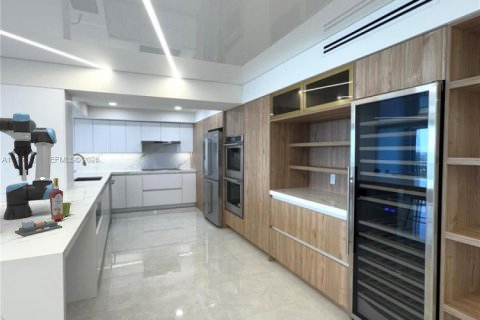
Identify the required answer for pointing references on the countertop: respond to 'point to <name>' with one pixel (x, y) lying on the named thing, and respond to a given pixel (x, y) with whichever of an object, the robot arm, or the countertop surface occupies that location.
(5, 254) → the countertop surface
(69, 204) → the plant pot
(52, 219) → the key sage
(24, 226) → the key bluegrey
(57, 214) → the liquor
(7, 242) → the countertop surface
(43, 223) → the key terracotta
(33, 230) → the keypad
